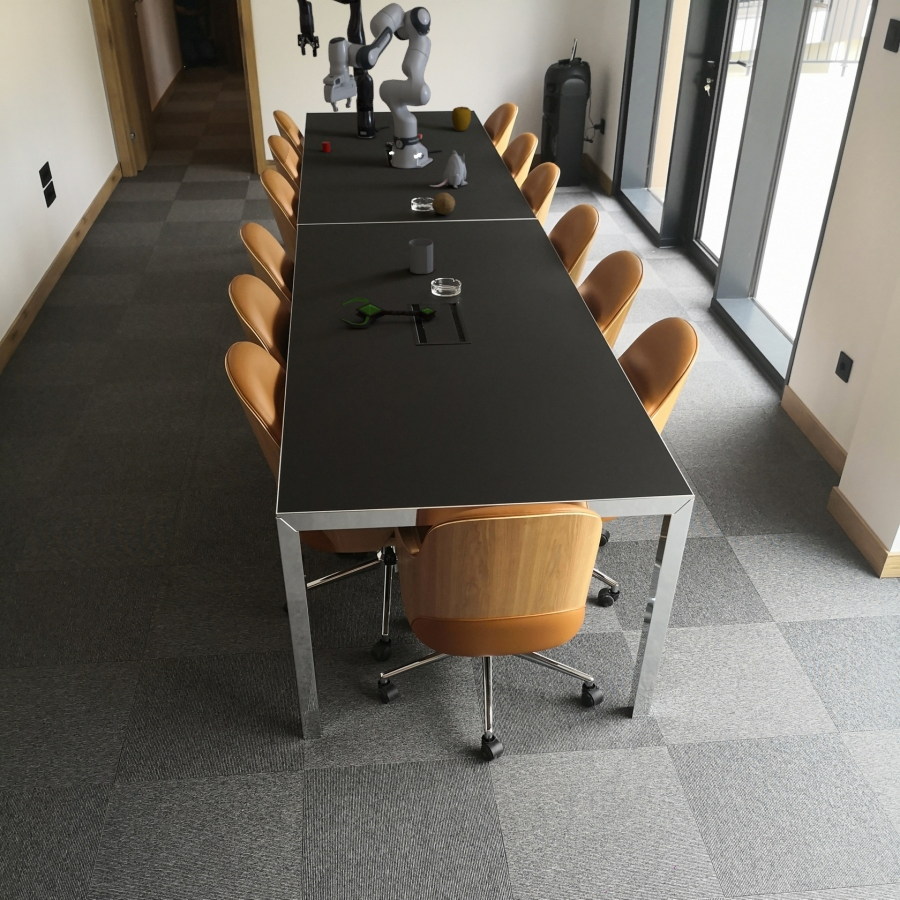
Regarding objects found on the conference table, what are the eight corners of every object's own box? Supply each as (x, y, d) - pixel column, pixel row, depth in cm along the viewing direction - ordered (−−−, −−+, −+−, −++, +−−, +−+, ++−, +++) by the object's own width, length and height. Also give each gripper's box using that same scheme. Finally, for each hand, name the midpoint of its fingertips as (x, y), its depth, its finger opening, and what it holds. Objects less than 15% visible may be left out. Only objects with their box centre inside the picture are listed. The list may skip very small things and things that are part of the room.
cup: (409, 265, 311) (408, 238, 306) (432, 265, 312) (431, 238, 307) (410, 274, 304) (409, 246, 299) (433, 273, 305) (433, 246, 299)
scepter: (436, 292, 272) (340, 290, 270) (437, 322, 265) (338, 320, 263) (435, 305, 277) (341, 303, 275) (436, 335, 270) (339, 333, 268)
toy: (472, 184, 399) (472, 151, 391) (436, 195, 384) (436, 161, 376) (457, 180, 404) (458, 147, 396) (422, 191, 389) (421, 157, 381)
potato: (453, 208, 369) (453, 189, 365) (456, 218, 357) (456, 199, 353) (431, 208, 368) (430, 189, 364) (432, 218, 356) (432, 199, 352)
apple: (471, 132, 486) (471, 108, 479) (451, 132, 486) (451, 108, 479) (470, 128, 495) (471, 104, 488) (452, 128, 495) (452, 104, 488)
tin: (322, 152, 449) (321, 143, 447) (322, 150, 452) (321, 141, 450) (330, 152, 450) (330, 143, 447) (330, 150, 453) (329, 141, 451)
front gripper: (348, 73, 399) (350, 104, 407) (320, 80, 384) (323, 113, 392) (359, 74, 396) (360, 106, 404) (331, 81, 382) (334, 114, 389)
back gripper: (292, 22, 464) (295, 55, 473) (311, 24, 457) (313, 58, 465) (302, 21, 469) (305, 54, 478) (321, 23, 462) (323, 56, 470)
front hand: (342, 109), depth 398 cm, fingers open, 8 cm apart
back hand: (309, 56), depth 472 cm, fingers open, 8 cm apart
